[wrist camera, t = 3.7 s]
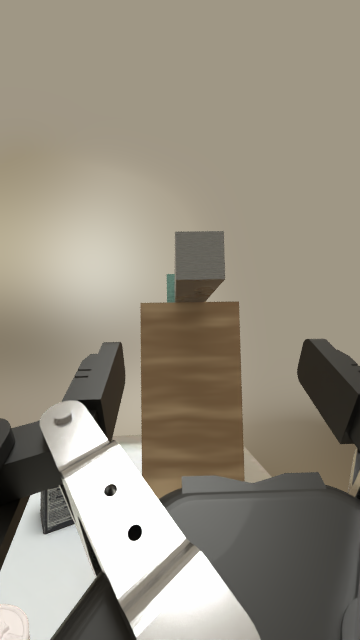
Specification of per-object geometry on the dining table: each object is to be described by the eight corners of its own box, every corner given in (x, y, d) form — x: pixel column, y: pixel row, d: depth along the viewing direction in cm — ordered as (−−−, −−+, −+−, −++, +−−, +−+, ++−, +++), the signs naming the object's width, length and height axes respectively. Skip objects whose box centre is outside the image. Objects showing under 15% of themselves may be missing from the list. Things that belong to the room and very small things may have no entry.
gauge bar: (249, 278, 17) (246, 200, 17) (159, 280, 17) (158, 200, 17) (203, 314, 43) (202, 282, 43) (168, 314, 43) (167, 283, 43)
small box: (103, 491, 51) (103, 434, 51) (114, 510, 45) (114, 445, 46) (39, 511, 45) (40, 447, 46) (43, 536, 40) (44, 461, 40)
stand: (249, 636, 26) (238, 301, 28) (143, 641, 26) (140, 303, 27) (222, 531, 40) (217, 313, 42) (154, 533, 39) (151, 314, 41)
